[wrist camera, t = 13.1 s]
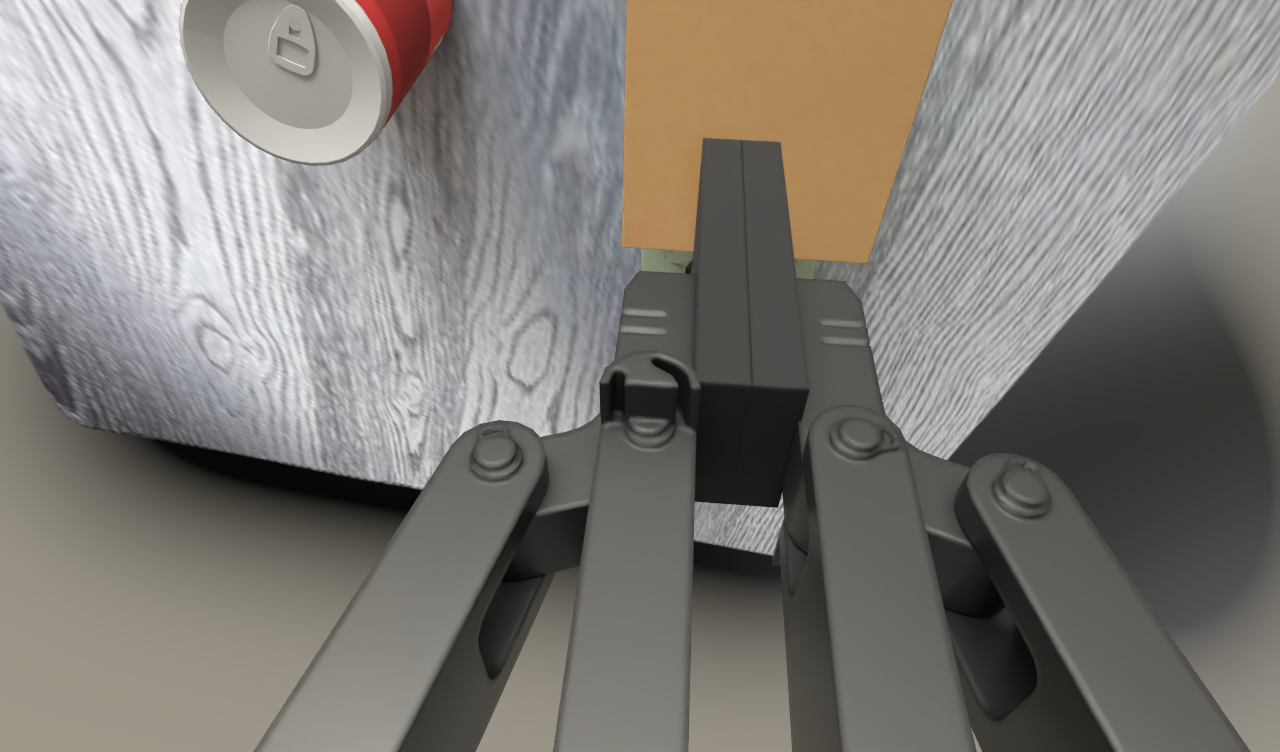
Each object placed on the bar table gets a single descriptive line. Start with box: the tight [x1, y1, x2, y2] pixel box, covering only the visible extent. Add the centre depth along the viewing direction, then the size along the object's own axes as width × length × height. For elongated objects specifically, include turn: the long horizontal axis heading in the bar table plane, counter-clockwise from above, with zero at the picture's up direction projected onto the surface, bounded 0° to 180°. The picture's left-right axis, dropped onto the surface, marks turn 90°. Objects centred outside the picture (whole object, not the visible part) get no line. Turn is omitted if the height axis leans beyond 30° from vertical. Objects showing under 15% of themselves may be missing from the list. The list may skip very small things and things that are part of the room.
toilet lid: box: [622, 0, 953, 264], centre depth 29 cm, size 14×11×1 cm
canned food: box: [179, 0, 453, 166], centre depth 31 cm, size 8×8×11 cm
